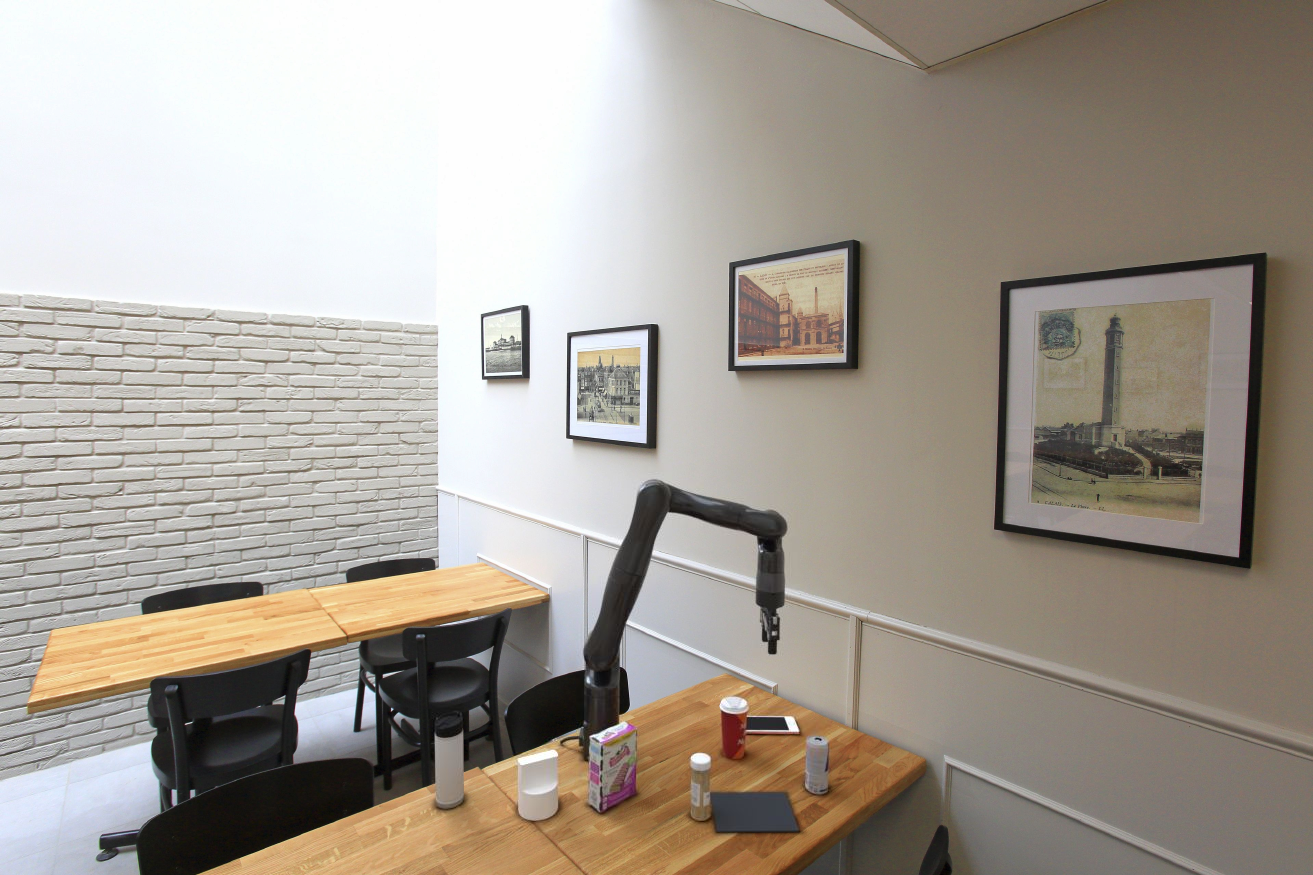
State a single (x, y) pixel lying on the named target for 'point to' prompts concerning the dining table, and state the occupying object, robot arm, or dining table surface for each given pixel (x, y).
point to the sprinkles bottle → (700, 786)
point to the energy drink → (817, 764)
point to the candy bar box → (612, 766)
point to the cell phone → (771, 725)
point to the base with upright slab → (538, 785)
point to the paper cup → (733, 726)
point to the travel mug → (449, 760)
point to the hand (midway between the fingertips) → (769, 647)
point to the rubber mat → (752, 812)
